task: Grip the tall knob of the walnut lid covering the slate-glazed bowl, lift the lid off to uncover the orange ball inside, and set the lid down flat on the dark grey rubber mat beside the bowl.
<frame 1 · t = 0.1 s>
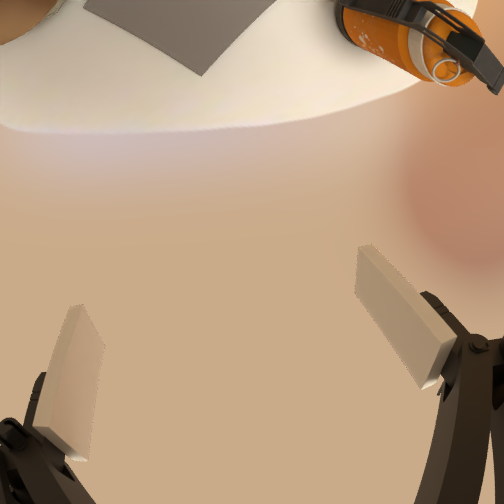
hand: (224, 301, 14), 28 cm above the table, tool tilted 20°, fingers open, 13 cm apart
canister: (359, 11, 27), on the table
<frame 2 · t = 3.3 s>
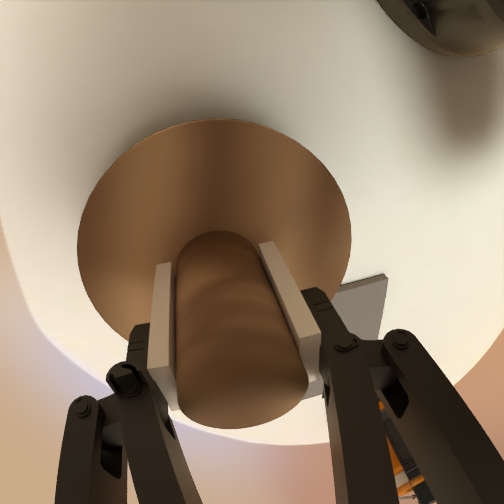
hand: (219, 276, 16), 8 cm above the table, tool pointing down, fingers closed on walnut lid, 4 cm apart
canister: (375, 397, 41), on the table
rubber mat: (307, 352, 32), on the table
walnut lid: (216, 259, 17), point 6 cm above the table, touching gripper, slate bowl
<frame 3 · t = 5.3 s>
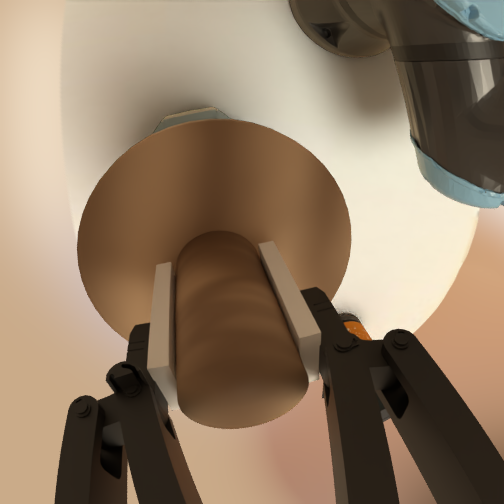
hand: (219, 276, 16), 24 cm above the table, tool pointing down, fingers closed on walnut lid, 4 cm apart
canister: (335, 327, 56), on the table
walnut lid: (216, 259, 17), point 23 cm above the table, touching gripper
slate bowl: (198, 163, 37), on the table
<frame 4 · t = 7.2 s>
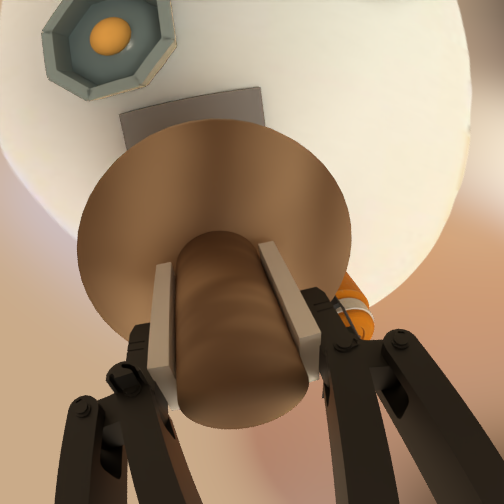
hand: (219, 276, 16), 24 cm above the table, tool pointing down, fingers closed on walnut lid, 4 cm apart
canister: (298, 258, 46), on the table
rubber mat: (200, 163, 36), on the table
walnut lid: (216, 259, 17), point 22 cm above the table, touching gripper
orange ball: (110, 36, 24), point 3 cm above the table, touching slate bowl
slate bowl: (116, 40, 27), on the table
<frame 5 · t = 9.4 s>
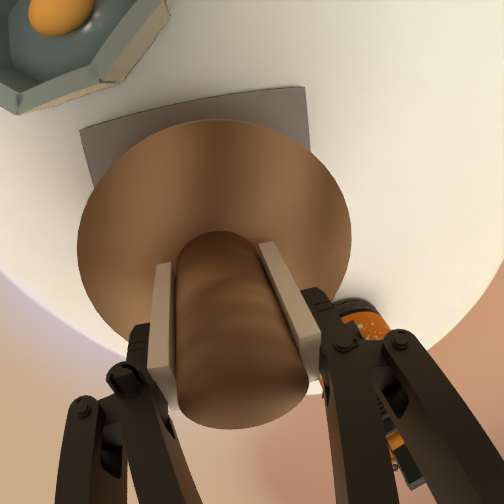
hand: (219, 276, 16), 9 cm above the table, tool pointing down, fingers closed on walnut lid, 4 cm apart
canister: (337, 322, 33), on the table
rubber mat: (208, 205, 24), on the table
walnut lid: (216, 259, 17), point 8 cm above the table, touching gripper
orange ball: (61, 5, 12), point 3 cm above the table, touching slate bowl
slate bowl: (77, 13, 14), on the table
when the fingers open (4 cm above the table, at t = 11.2 s): walnut lid drops 2 cm, resting on rubber mat.
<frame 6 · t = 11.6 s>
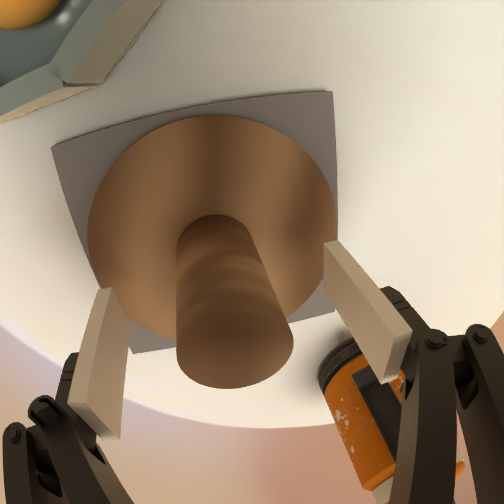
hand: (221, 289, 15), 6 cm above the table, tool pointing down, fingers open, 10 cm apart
canister: (354, 356, 29), on the table
rubber mat: (212, 236, 20), on the table
walnut lid: (213, 241, 19), point 1 cm above the table, touching rubber mat
slate bowl: (49, 2, 10), on the table
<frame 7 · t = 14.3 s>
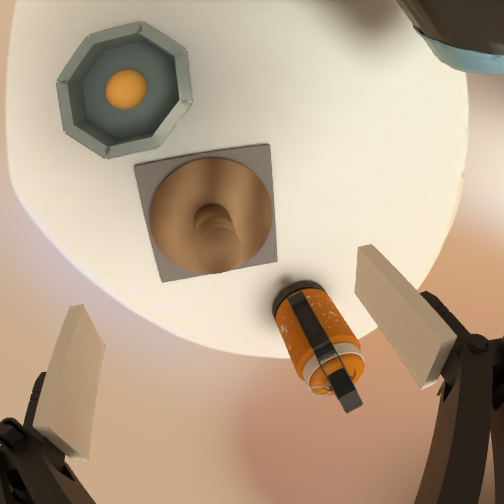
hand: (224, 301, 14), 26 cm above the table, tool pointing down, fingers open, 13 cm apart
canister: (296, 298, 49), on the table
rubber mat: (210, 215, 39), on the table
walnut lid: (211, 217, 39), point 1 cm above the table, touching rubber mat
orange ball: (126, 89, 27), point 3 cm above the table, touching slate bowl
slate bowl: (131, 89, 30), on the table
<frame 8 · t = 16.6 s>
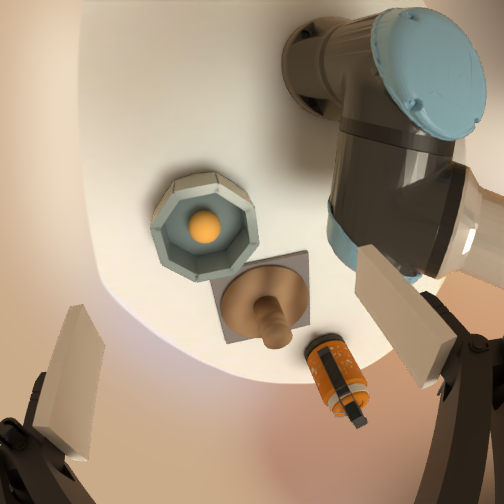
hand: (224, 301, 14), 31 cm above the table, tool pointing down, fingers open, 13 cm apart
canister: (321, 344, 64), on the table
rubber mat: (263, 299, 54), on the table
walnut lid: (264, 302, 54), point 1 cm above the table, touching rubber mat
orange ball: (204, 226, 42), point 3 cm above the table, touching slate bowl
slate bowl: (203, 217, 45), on the table
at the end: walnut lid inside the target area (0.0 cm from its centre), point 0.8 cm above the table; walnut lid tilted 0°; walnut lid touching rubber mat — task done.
